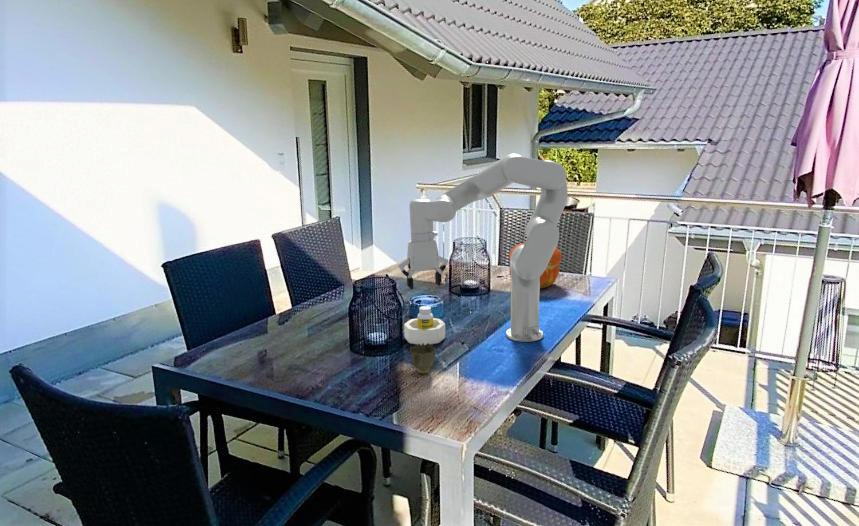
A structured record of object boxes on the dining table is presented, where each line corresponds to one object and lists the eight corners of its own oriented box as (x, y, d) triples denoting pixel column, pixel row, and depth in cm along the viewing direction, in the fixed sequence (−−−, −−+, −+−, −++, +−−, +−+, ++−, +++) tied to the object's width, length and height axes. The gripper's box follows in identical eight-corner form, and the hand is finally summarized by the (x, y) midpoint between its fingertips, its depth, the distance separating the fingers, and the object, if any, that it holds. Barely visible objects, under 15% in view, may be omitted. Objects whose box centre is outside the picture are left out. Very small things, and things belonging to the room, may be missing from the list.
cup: (407, 370, 177) (406, 345, 175) (429, 365, 180) (429, 341, 178) (416, 379, 171) (415, 354, 169) (439, 375, 173) (439, 349, 172)
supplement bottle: (421, 338, 200) (420, 311, 197) (415, 333, 204) (414, 306, 202) (436, 336, 202) (435, 308, 199) (429, 331, 207) (429, 304, 204)
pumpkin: (502, 290, 256) (502, 245, 252) (515, 277, 277) (515, 235, 272) (555, 294, 248) (557, 248, 243) (564, 281, 268) (566, 237, 263)
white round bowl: (449, 341, 199) (449, 327, 198) (412, 346, 195) (412, 332, 194) (436, 328, 211) (435, 315, 210) (401, 334, 207) (400, 320, 206)
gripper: (442, 232, 201) (444, 280, 205) (394, 237, 196) (396, 287, 200) (450, 235, 194) (452, 285, 198) (400, 241, 189) (403, 292, 193)
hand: (424, 286), depth 199 cm, fingers open, 9 cm apart
